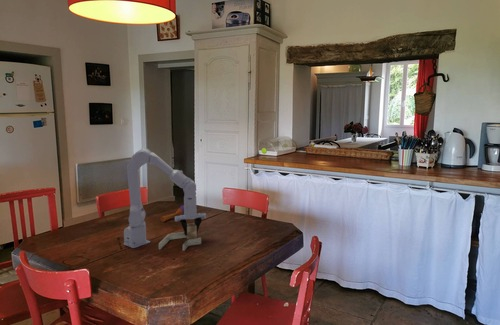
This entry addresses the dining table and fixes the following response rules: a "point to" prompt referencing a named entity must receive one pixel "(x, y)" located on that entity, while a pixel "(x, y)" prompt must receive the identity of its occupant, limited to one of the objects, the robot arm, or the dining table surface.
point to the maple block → (191, 231)
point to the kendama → (178, 212)
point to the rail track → (178, 236)
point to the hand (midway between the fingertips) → (190, 234)
